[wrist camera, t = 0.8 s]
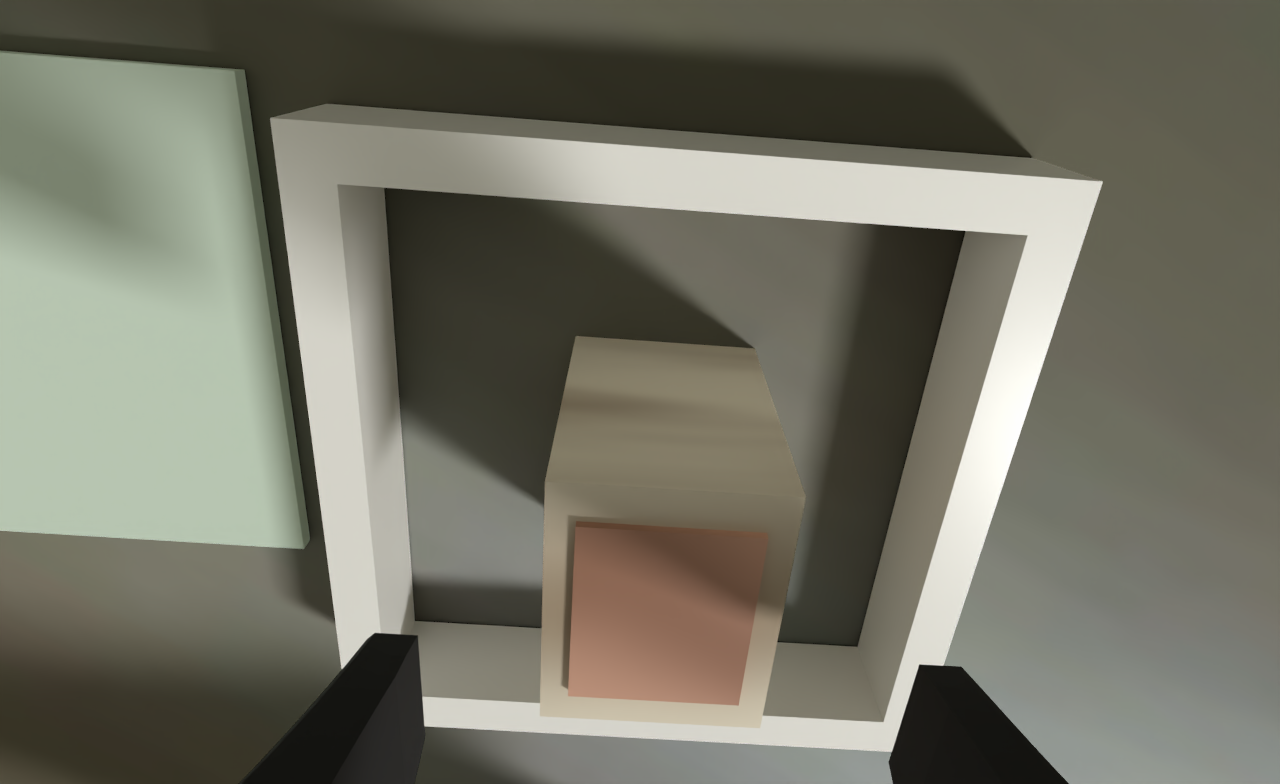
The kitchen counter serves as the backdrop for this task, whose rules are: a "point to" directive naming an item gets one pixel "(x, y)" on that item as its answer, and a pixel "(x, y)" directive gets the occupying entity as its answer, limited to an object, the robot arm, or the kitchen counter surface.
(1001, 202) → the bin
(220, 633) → the kitchen counter surface
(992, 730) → the robot arm
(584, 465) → the birch block
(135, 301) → the pad
